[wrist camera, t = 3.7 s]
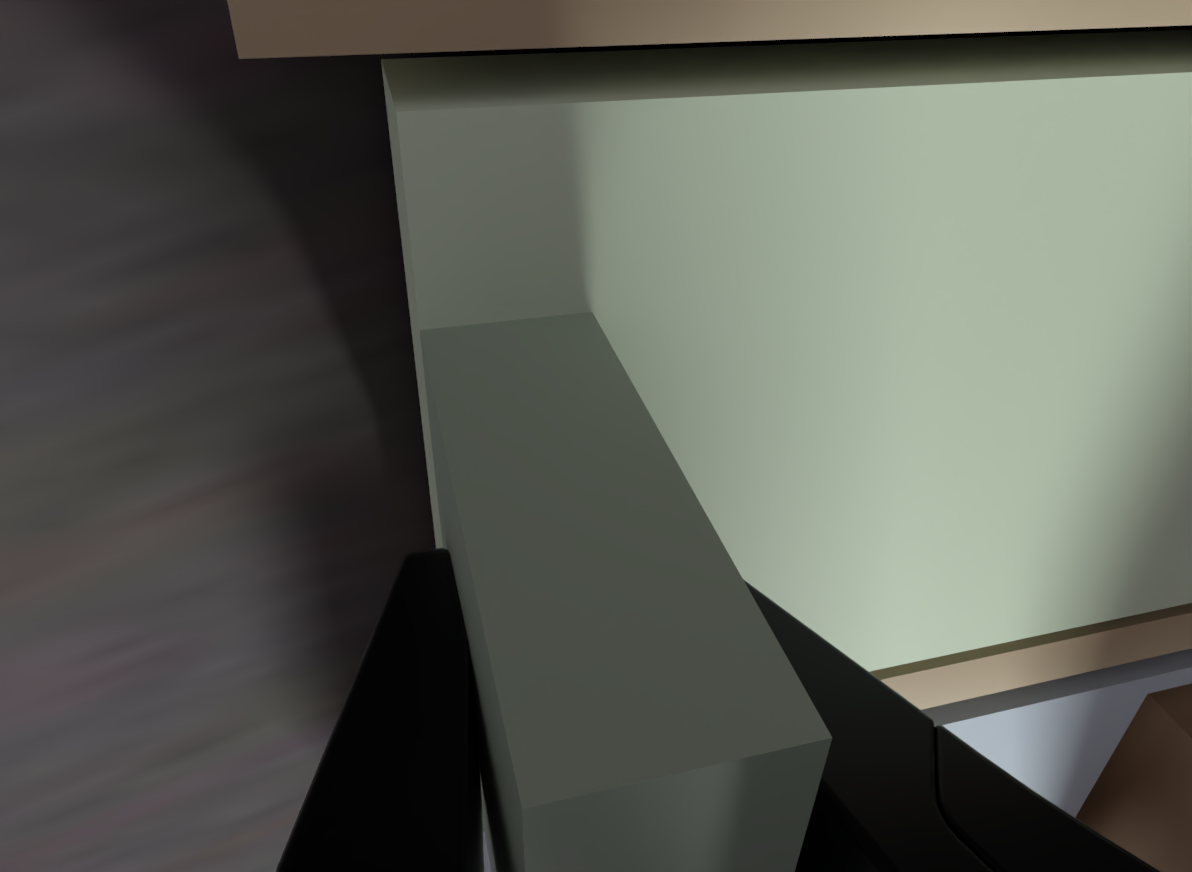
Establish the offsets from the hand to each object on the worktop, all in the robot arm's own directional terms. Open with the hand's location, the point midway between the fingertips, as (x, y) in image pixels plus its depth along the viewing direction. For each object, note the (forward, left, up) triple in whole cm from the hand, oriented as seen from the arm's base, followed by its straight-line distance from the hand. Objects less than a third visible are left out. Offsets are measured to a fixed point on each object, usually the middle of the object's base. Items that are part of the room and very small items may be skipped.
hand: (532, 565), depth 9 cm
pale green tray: (0, -9, -3) cm, 9 cm away
